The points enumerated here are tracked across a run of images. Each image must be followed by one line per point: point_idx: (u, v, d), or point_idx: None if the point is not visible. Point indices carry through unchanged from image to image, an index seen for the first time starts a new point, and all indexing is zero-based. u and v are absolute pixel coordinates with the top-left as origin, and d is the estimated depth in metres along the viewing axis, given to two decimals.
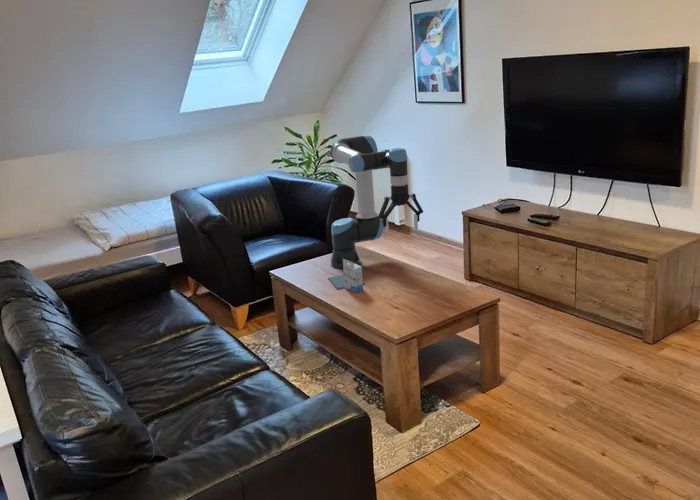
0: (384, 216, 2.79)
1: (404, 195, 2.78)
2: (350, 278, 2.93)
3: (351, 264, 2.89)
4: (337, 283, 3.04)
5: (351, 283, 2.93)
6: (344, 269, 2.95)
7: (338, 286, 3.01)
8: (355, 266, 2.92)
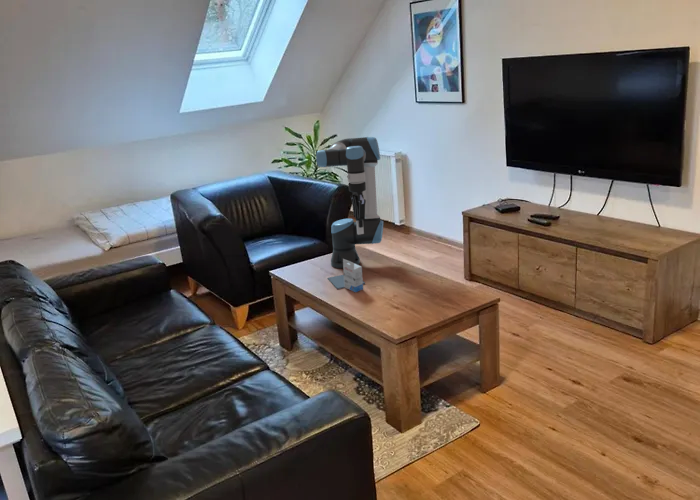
0: None
1: (357, 192, 2.77)
2: (350, 278, 2.93)
3: (351, 264, 2.89)
4: (337, 283, 3.04)
5: (351, 283, 2.93)
6: (344, 269, 2.95)
7: (338, 286, 3.01)
8: (355, 266, 2.92)
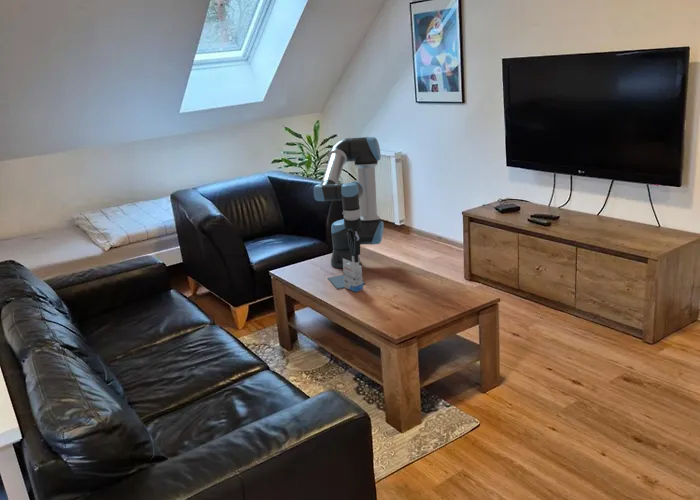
0: None
1: (352, 229, 2.80)
2: (350, 277, 2.93)
3: (351, 263, 2.90)
4: (337, 283, 3.04)
5: (351, 282, 2.93)
6: (344, 269, 2.95)
7: (338, 286, 3.01)
8: None
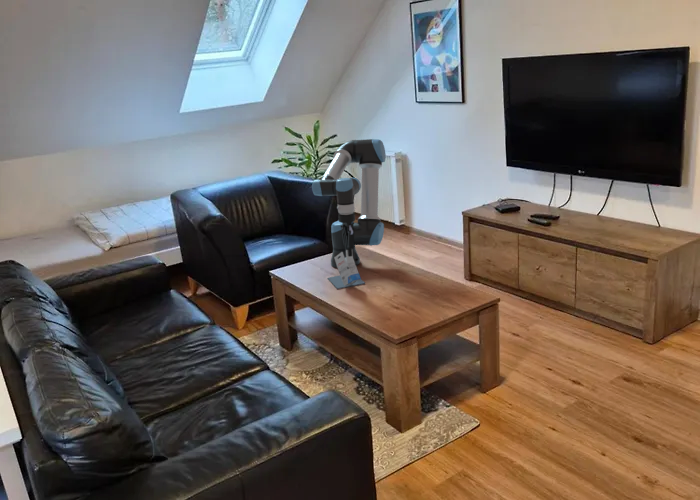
0: None
1: (346, 223, 2.86)
2: (345, 269, 2.96)
3: (341, 255, 2.97)
4: (337, 283, 3.04)
5: (347, 274, 2.95)
6: (338, 267, 3.00)
7: (338, 286, 3.01)
8: None
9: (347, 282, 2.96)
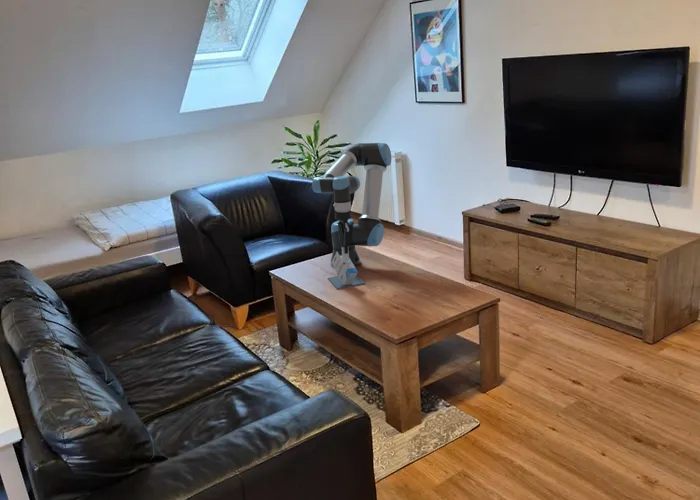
0: None
1: (342, 221, 2.91)
2: (342, 267, 2.99)
3: (336, 255, 3.03)
4: (337, 283, 3.04)
5: (344, 270, 2.98)
6: (336, 269, 3.04)
7: (338, 286, 3.01)
8: None
9: (345, 278, 2.97)
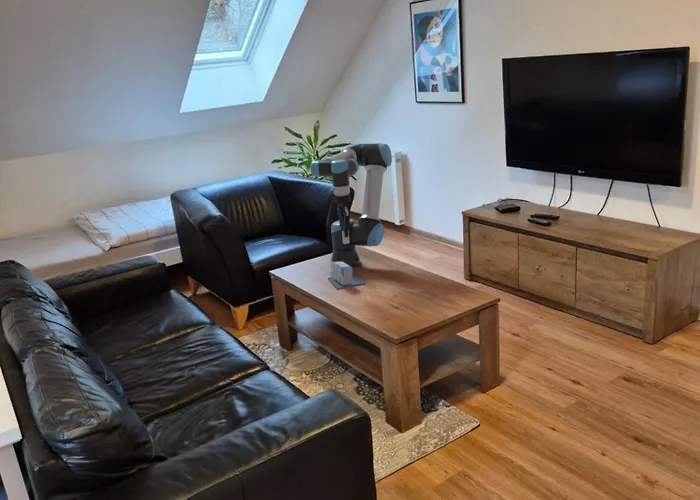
0: None
1: (342, 204, 2.89)
2: (337, 270, 3.04)
3: (331, 264, 3.10)
4: (337, 283, 3.04)
5: (339, 270, 3.02)
6: (334, 277, 3.08)
7: (338, 286, 3.01)
8: None
9: (342, 277, 2.99)
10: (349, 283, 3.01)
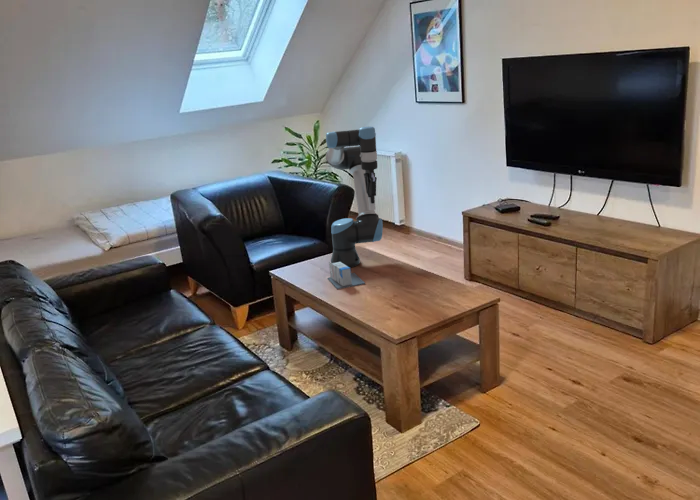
0: None
1: (369, 170, 2.95)
2: (336, 271, 3.04)
3: (330, 265, 3.09)
4: (337, 283, 3.04)
5: (338, 272, 3.01)
6: (334, 278, 3.08)
7: (338, 286, 3.01)
8: None
9: (341, 278, 2.99)
10: (349, 283, 3.01)
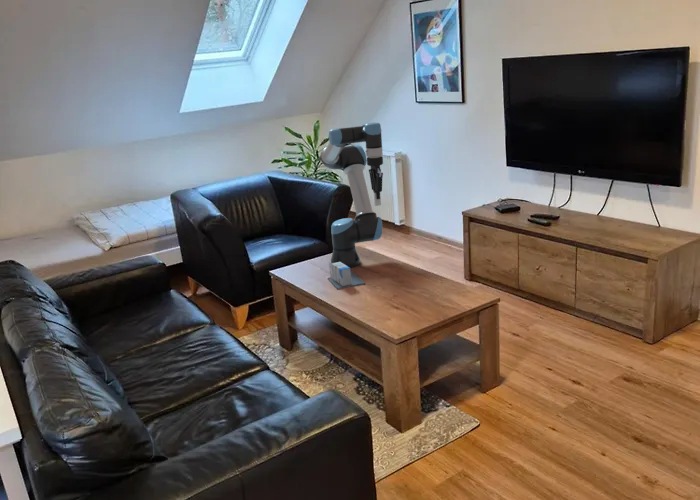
0: None
1: (375, 166, 2.97)
2: (336, 271, 3.04)
3: (330, 265, 3.09)
4: (337, 283, 3.04)
5: (338, 272, 3.01)
6: (334, 278, 3.08)
7: (338, 286, 3.01)
8: None
9: (341, 278, 2.99)
10: (349, 283, 3.01)
